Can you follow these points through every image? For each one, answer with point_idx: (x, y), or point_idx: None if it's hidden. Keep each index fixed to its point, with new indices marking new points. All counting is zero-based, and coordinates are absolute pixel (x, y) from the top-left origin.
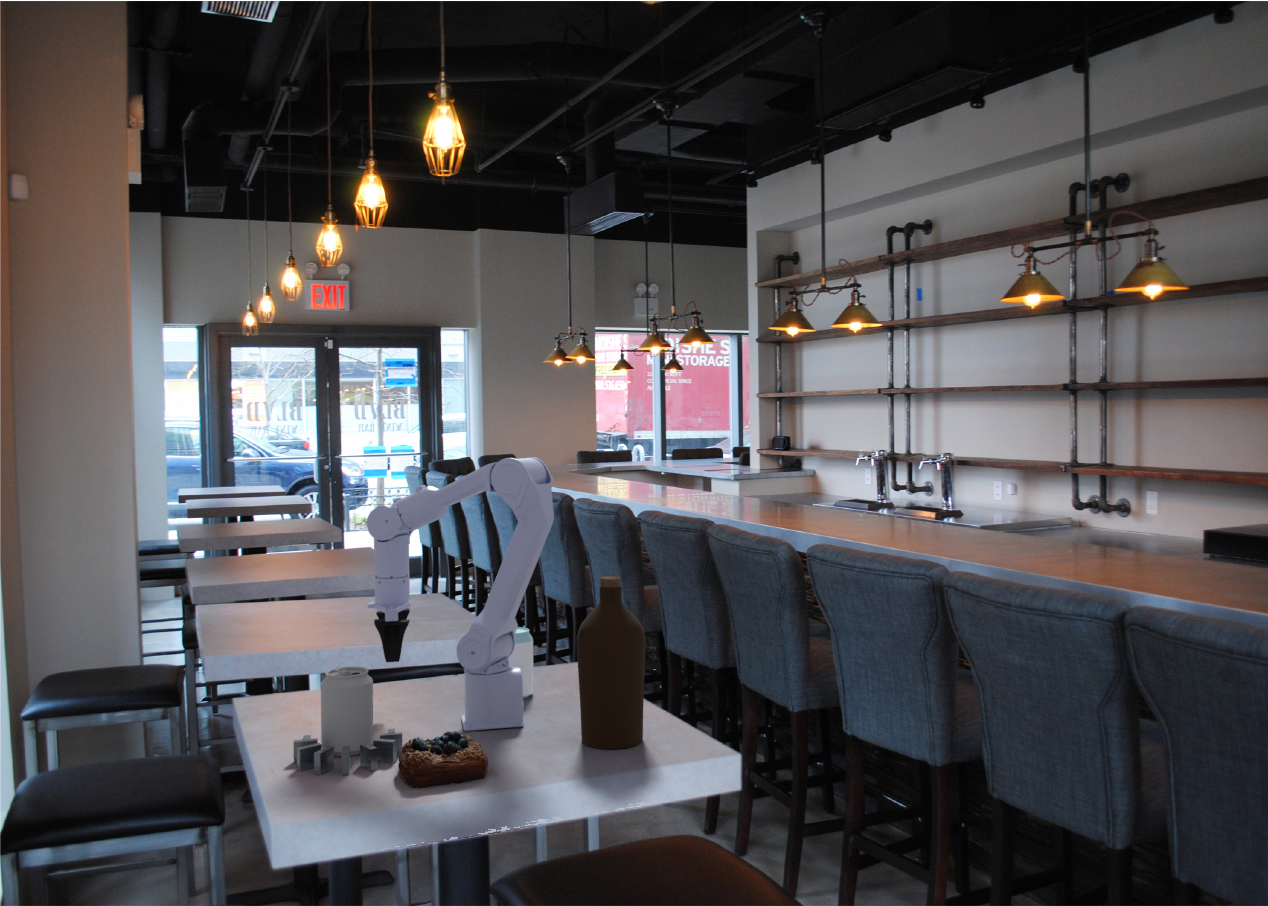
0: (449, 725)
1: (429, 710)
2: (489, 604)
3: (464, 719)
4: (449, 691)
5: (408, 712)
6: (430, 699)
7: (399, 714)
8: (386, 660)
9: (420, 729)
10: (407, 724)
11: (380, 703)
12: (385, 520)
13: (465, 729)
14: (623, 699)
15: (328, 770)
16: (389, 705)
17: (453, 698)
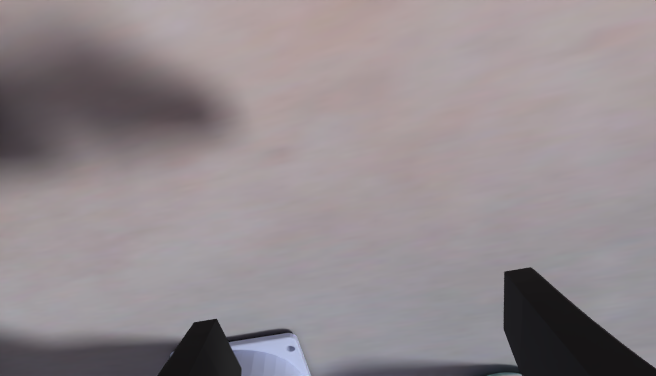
0: (229, 312)
1: (392, 243)
2: None
3: (249, 347)
4: (620, 259)
5: (376, 189)
6: (533, 224)
7: (354, 165)
8: (187, 334)
9: (183, 256)
10: (232, 213)
11: (534, 57)
12: None
13: (170, 356)
14: None
15: None
16: (490, 102)
17: None
